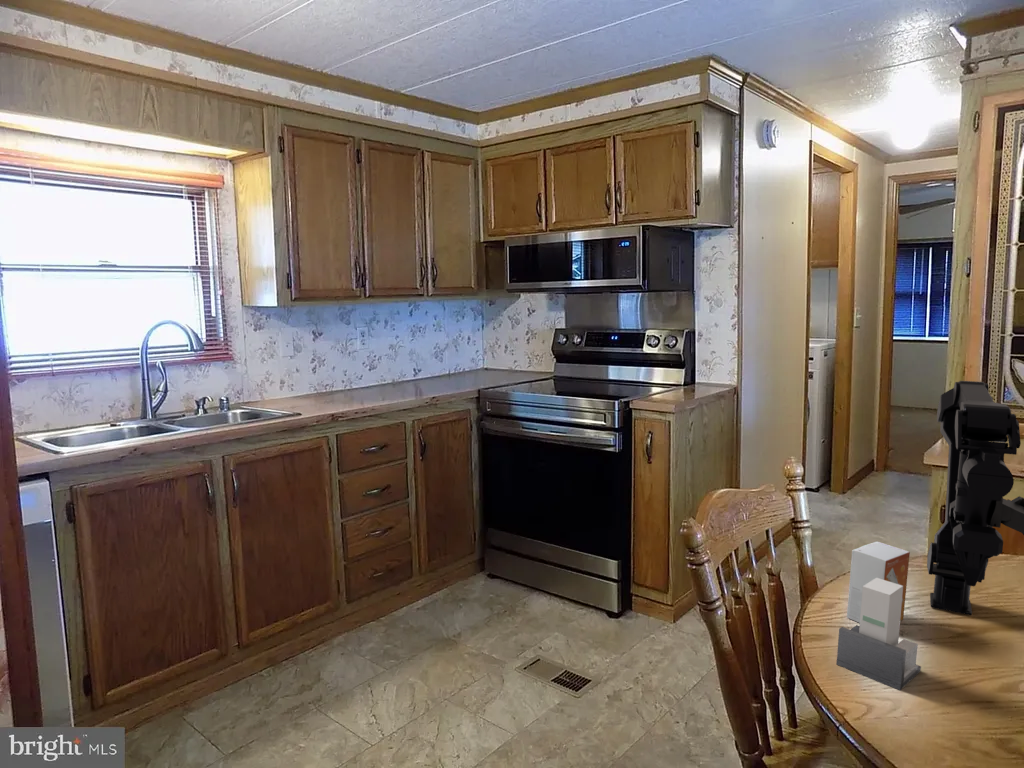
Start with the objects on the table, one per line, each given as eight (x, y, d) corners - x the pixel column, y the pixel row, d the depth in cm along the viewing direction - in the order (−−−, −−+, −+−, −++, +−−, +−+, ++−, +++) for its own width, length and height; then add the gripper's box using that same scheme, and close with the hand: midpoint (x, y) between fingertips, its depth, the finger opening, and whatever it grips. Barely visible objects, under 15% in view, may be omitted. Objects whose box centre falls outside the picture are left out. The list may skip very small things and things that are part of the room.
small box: (880, 632, 123) (886, 560, 121) (845, 617, 128) (850, 549, 126) (904, 620, 127) (910, 551, 125) (870, 606, 132) (875, 540, 130)
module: (870, 647, 114) (876, 577, 113) (897, 657, 111) (903, 585, 110) (856, 658, 111) (862, 586, 109) (883, 669, 108) (889, 595, 106)
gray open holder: (858, 647, 117) (861, 613, 117) (920, 671, 110) (923, 635, 109) (836, 664, 112) (838, 629, 111) (899, 690, 105) (903, 652, 104)
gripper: (1050, 506, 101) (1038, 609, 103) (1032, 475, 117) (1022, 565, 119) (958, 494, 106) (949, 592, 108) (953, 466, 122) (945, 552, 124)
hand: (969, 575), depth 115 cm, fingers open, 9 cm apart
